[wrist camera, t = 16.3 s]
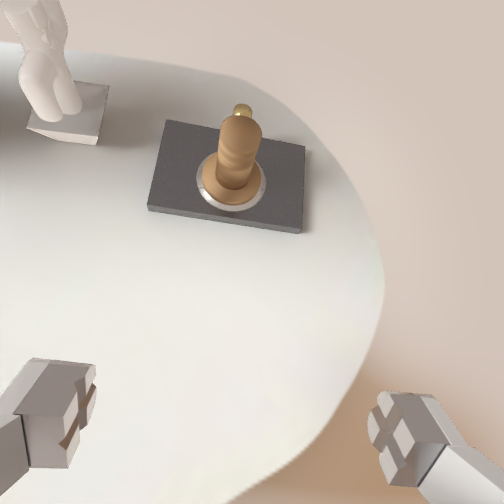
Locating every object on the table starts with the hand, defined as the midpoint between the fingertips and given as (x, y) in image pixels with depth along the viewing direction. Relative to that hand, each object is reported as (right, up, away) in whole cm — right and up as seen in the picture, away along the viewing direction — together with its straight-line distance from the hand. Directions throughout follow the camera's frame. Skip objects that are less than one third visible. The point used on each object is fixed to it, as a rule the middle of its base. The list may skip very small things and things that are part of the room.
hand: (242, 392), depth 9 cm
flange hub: (-2, +13, +30) cm, 32 cm away
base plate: (-2, +13, +31) cm, 34 cm away
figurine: (-21, +19, +30) cm, 41 cm away
